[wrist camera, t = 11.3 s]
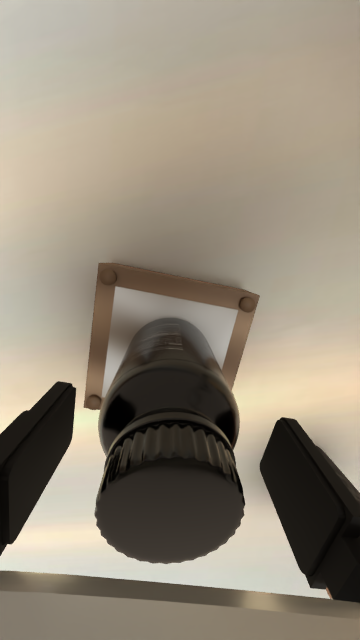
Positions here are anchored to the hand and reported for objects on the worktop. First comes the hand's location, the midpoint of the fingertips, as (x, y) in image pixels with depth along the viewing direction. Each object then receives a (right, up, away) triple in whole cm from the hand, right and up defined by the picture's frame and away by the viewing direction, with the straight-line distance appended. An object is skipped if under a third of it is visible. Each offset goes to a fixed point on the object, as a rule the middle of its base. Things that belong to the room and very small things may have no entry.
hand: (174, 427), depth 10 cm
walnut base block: (-1, +3, +13) cm, 13 cm away
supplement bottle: (-1, +2, +9) cm, 9 cm away
